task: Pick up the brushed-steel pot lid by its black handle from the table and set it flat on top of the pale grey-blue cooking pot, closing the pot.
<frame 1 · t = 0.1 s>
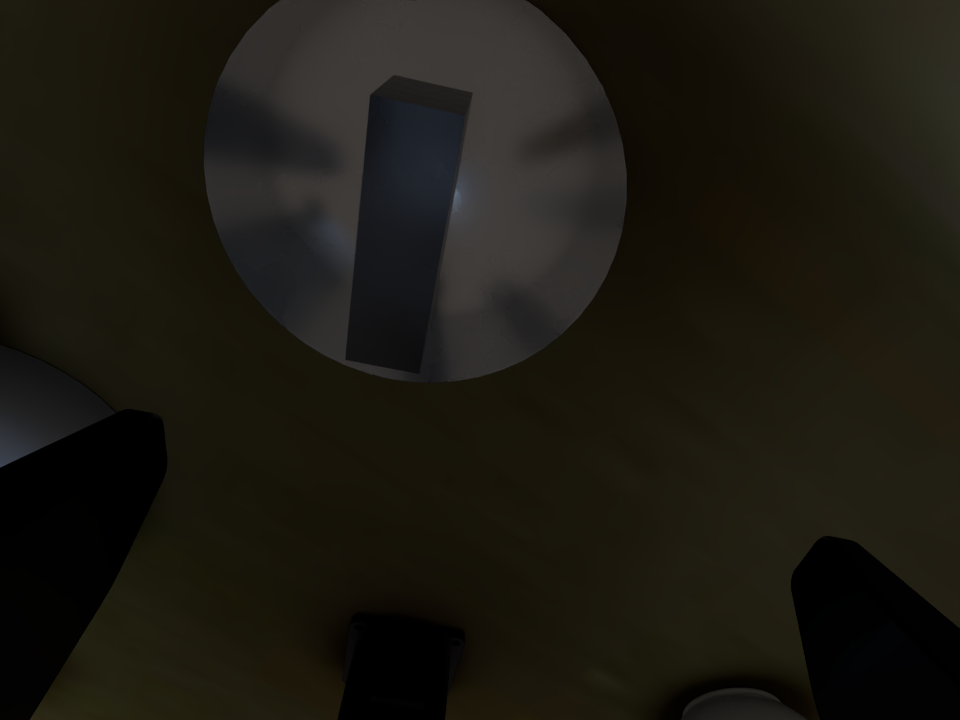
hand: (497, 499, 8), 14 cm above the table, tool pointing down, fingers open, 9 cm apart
lid: (419, 199, 21), on the table
pot: (12, 455, 28), on the table
lidded jar: (731, 710, 38), on the table
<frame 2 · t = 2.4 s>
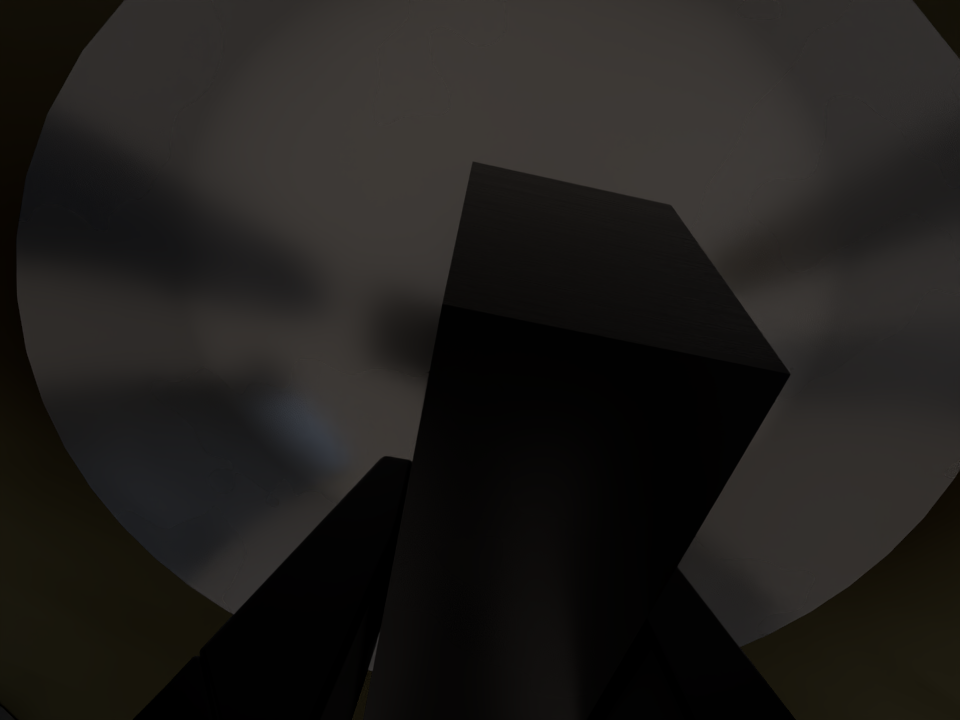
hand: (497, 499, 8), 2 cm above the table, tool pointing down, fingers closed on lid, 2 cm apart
lid: (500, 393, 10), on the table, touching gripper
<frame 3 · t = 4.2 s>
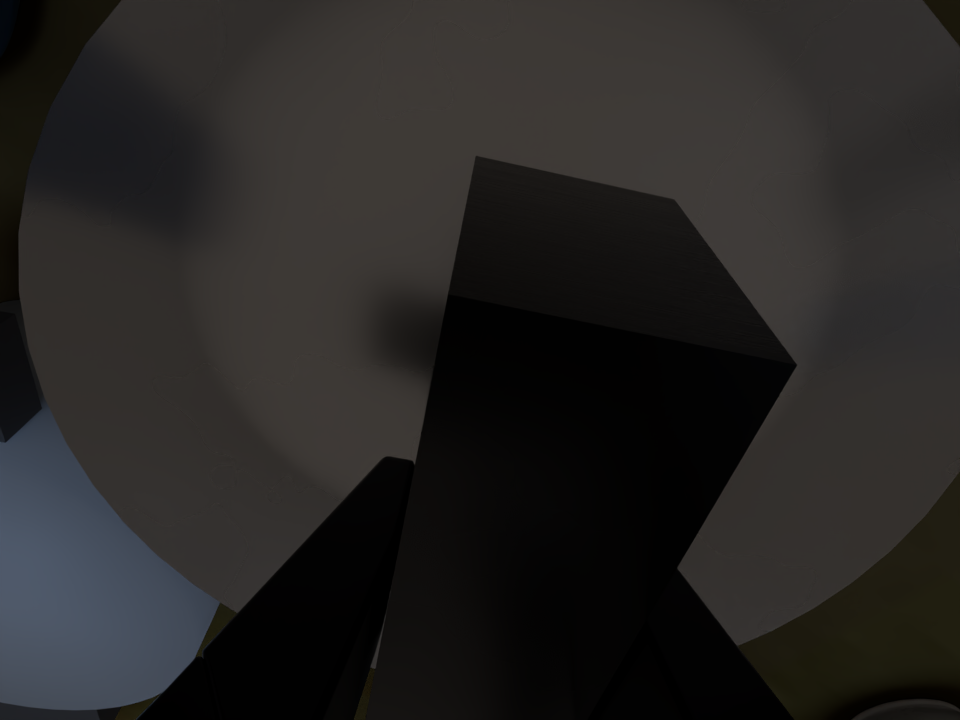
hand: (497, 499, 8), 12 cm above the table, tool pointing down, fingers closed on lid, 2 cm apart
lid: (502, 390, 10), point 9 cm above the table, touching gripper
pot: (109, 443, 24), on the table
when the fingers open (10 cm above the table, at t = 6.2 s): lid stays where it is, resting on pot.
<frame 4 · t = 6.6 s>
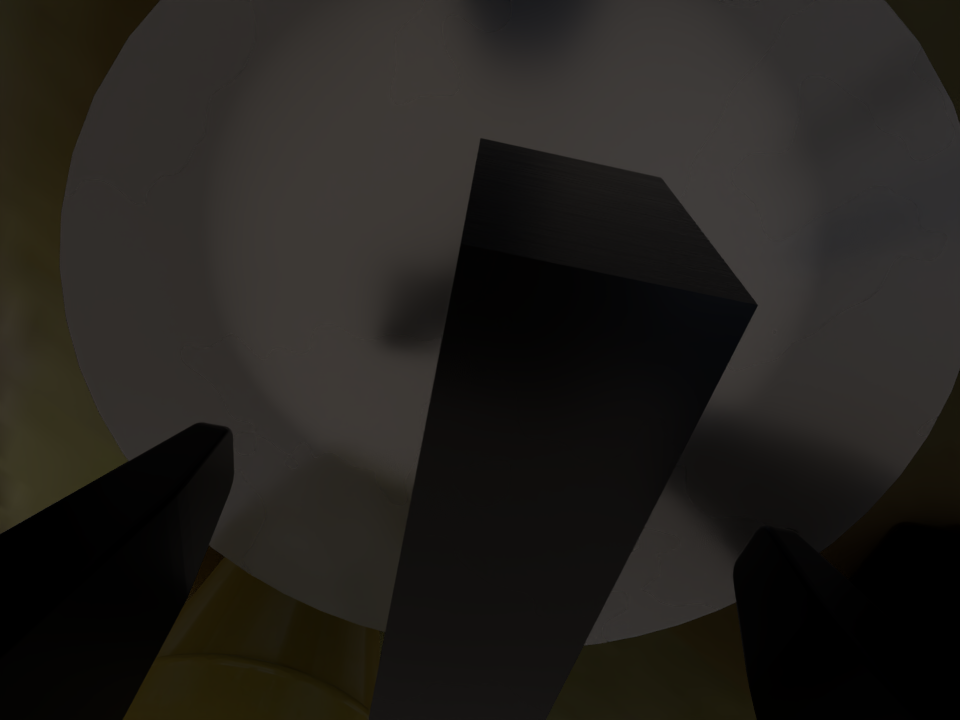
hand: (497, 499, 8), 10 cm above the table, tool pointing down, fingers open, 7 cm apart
plant pot: (302, 574, 26), on the table
lid: (504, 362, 11), point 7 cm above the table, touching pot
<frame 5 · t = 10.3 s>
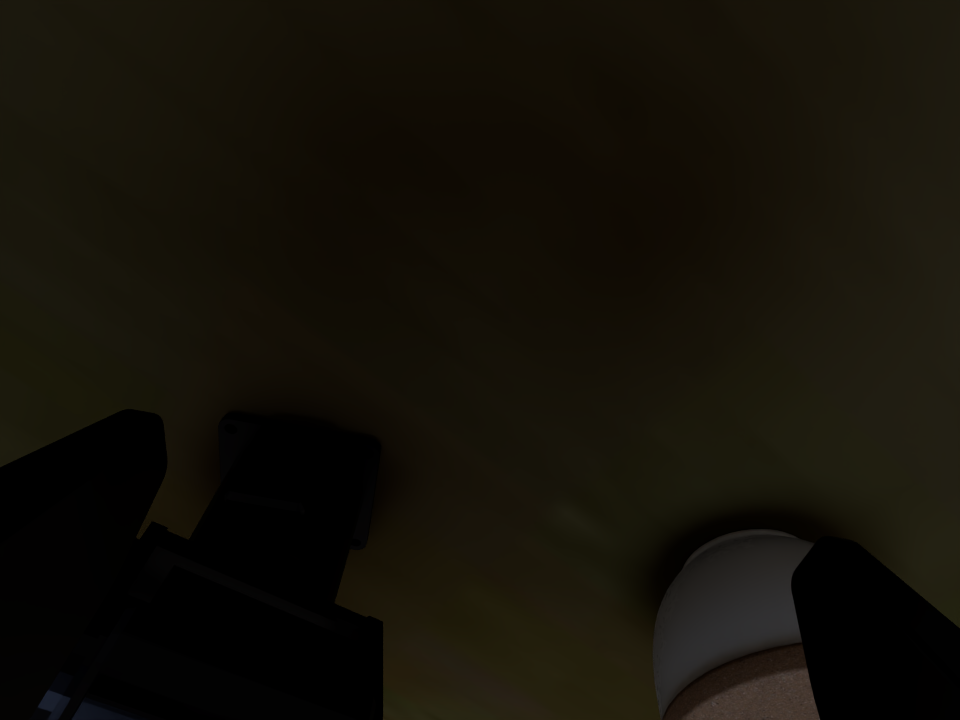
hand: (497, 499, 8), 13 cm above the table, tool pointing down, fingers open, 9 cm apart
lidded jar: (745, 569, 28), on the table
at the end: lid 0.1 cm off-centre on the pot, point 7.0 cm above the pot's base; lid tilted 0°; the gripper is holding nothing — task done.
